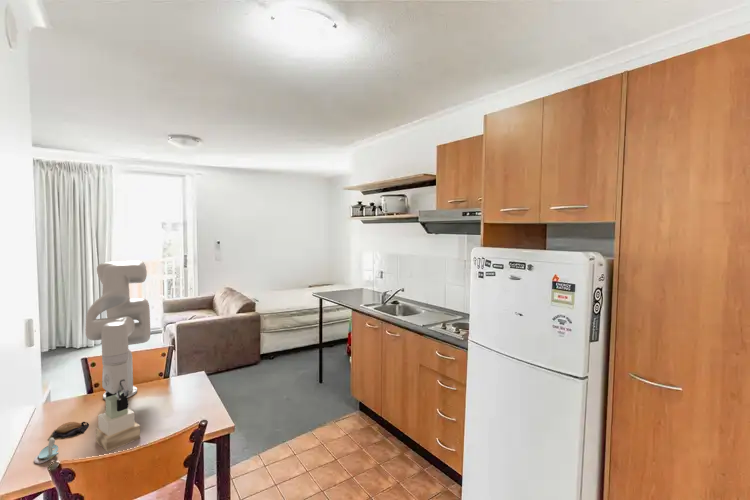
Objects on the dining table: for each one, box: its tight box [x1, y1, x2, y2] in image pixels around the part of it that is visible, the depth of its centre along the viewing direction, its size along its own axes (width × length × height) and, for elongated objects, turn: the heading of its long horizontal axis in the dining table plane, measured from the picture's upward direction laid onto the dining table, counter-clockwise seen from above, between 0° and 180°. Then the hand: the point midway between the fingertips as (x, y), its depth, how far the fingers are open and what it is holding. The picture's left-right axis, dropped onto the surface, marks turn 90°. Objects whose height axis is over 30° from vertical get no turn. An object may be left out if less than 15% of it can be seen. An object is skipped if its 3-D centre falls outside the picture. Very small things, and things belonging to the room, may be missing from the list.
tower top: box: [97, 408, 136, 436], centre depth 128 cm, size 8×8×5 cm
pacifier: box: [33, 438, 59, 465], centre depth 118 cm, size 7×6×6 cm
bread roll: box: [47, 421, 90, 441], centre depth 133 cm, size 11×8×4 cm
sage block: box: [105, 393, 129, 419], centre depth 128 cm, size 5×5×6 cm
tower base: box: [95, 421, 141, 453], centre depth 129 cm, size 10×10×5 cm
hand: (117, 405), depth 128 cm, fingers open, 8 cm apart
